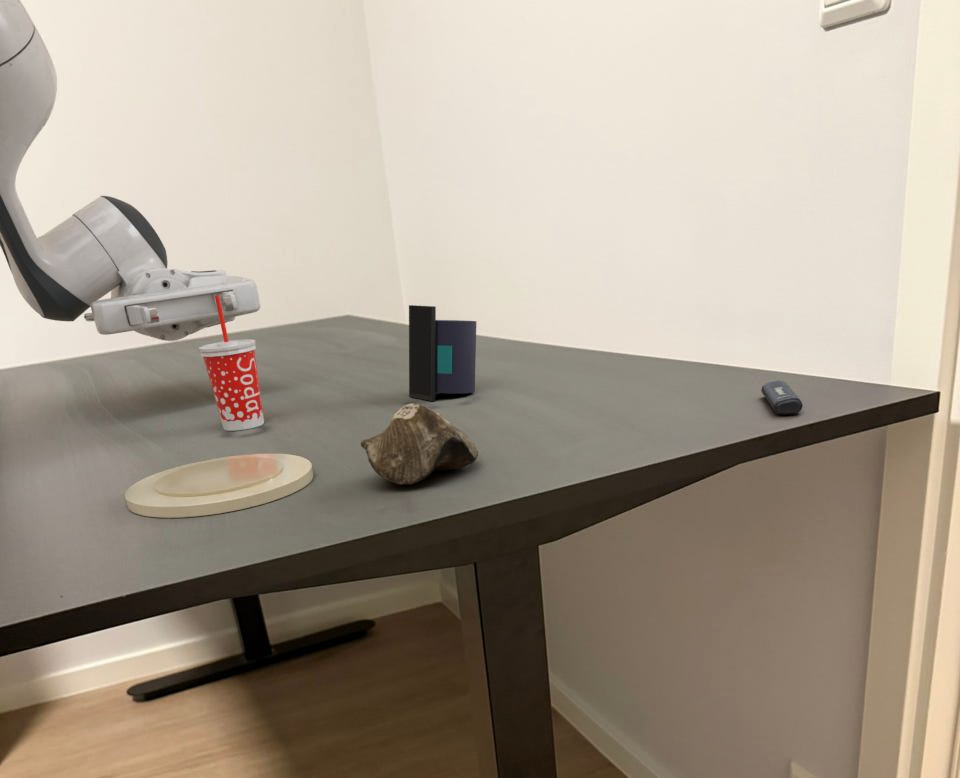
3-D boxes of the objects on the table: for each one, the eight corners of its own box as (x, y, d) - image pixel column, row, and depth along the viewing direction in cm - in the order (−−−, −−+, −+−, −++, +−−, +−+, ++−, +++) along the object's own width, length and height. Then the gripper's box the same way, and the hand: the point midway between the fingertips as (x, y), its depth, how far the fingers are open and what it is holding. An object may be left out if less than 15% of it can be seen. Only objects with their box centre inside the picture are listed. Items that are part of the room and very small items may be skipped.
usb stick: (760, 396, 95) (760, 380, 94) (787, 394, 94) (788, 378, 94) (773, 417, 86) (774, 400, 86) (803, 415, 86) (804, 398, 85)
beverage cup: (229, 434, 104) (200, 300, 98) (208, 428, 109) (179, 299, 103) (279, 423, 107) (254, 291, 101) (257, 417, 112) (232, 291, 106)
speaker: (417, 402, 109) (413, 306, 105) (408, 397, 114) (405, 305, 110) (482, 399, 110) (480, 304, 107) (470, 394, 116) (469, 303, 112)
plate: (98, 525, 77) (93, 510, 76) (163, 472, 91) (159, 459, 91) (293, 508, 76) (290, 492, 75) (327, 457, 90) (325, 443, 90)
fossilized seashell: (451, 426, 85) (350, 467, 82) (451, 368, 80) (343, 410, 77) (495, 481, 82) (392, 526, 79) (499, 424, 76) (388, 470, 73)
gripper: (74, 290, 118) (94, 293, 107) (233, 268, 127) (267, 269, 116) (88, 343, 121) (109, 351, 110) (243, 318, 129) (277, 323, 118)
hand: (192, 309), depth 113 cm, fingers open, 8 cm apart
